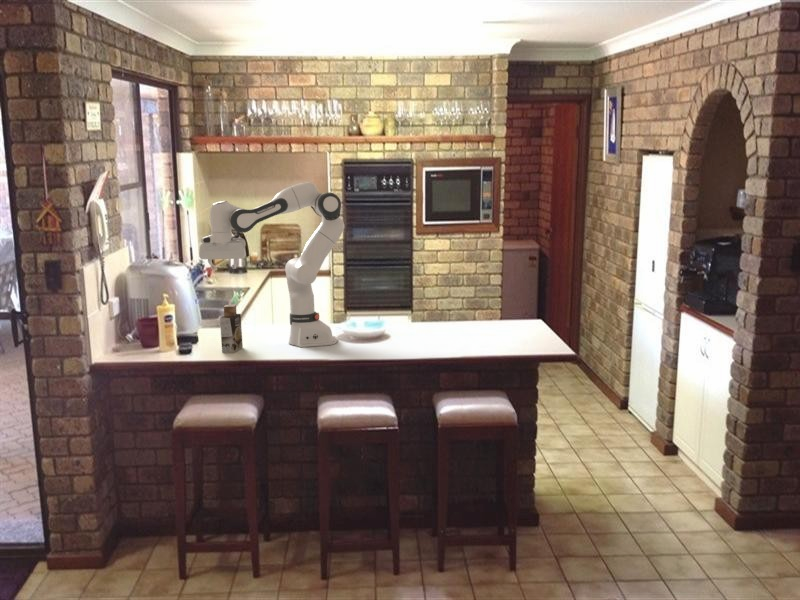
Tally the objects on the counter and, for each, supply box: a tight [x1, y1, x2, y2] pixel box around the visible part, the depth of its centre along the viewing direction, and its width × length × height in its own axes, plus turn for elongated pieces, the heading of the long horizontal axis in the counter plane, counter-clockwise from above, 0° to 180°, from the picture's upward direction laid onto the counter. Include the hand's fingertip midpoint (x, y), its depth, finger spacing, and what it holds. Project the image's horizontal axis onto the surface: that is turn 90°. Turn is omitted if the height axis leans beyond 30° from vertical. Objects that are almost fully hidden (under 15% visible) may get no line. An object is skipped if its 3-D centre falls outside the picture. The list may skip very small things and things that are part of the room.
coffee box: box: [219, 313, 243, 354], centre depth 332 cm, size 9×6×16 cm
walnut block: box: [223, 304, 238, 317], centre depth 330 cm, size 4×4×4 cm
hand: (223, 268), depth 331 cm, fingers open, 8 cm apart
